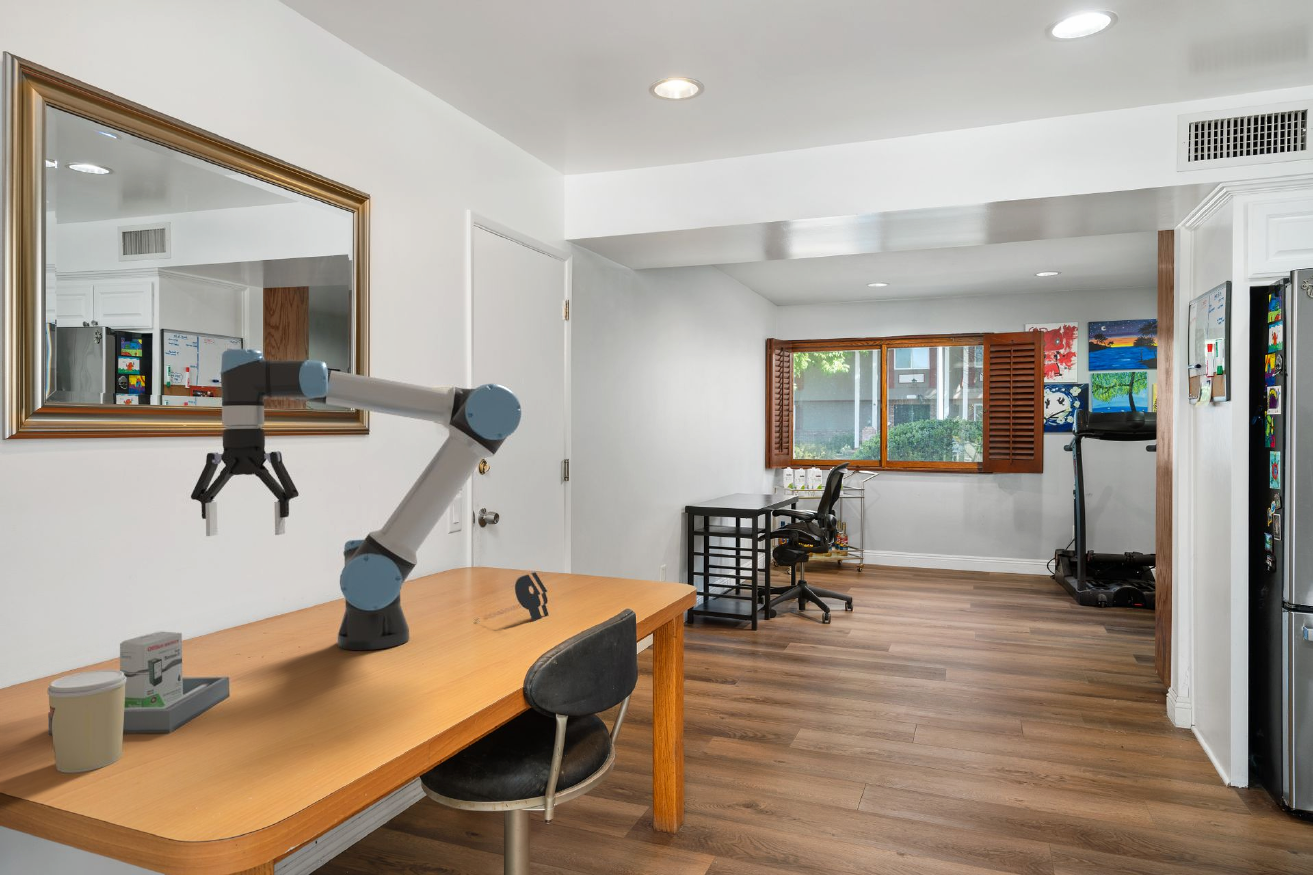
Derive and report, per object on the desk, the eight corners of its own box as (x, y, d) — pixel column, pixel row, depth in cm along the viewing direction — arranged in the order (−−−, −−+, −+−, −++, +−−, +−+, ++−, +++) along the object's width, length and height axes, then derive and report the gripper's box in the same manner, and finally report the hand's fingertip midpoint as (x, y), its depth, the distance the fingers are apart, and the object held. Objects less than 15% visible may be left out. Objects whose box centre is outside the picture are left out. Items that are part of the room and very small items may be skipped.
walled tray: (229, 696, 148) (229, 676, 148) (169, 732, 130) (169, 710, 130) (123, 697, 148) (122, 678, 148) (48, 734, 130) (48, 712, 130)
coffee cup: (75, 750, 123) (73, 670, 123) (141, 747, 124) (139, 667, 124) (33, 777, 114) (31, 689, 114) (105, 773, 114) (103, 686, 114)
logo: (577, 605, 207) (563, 561, 208) (526, 625, 192) (511, 578, 193) (532, 620, 216) (518, 578, 218) (480, 640, 202) (466, 595, 203)
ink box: (144, 715, 136) (142, 643, 136) (118, 713, 137) (117, 642, 137) (184, 698, 144) (183, 631, 144) (160, 697, 146) (159, 630, 145)
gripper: (314, 426, 168) (316, 531, 168) (191, 429, 168) (193, 533, 168) (298, 426, 161) (300, 536, 161) (169, 428, 161) (172, 538, 161)
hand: (246, 535), depth 165 cm, fingers open, 13 cm apart
